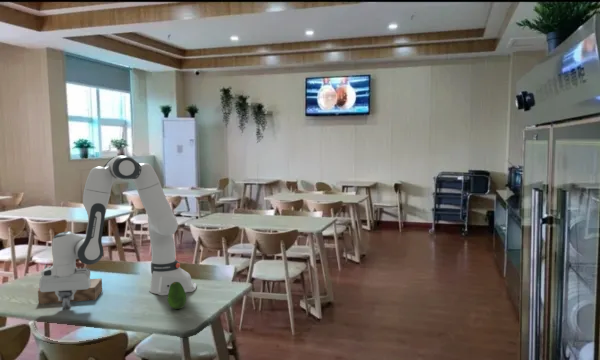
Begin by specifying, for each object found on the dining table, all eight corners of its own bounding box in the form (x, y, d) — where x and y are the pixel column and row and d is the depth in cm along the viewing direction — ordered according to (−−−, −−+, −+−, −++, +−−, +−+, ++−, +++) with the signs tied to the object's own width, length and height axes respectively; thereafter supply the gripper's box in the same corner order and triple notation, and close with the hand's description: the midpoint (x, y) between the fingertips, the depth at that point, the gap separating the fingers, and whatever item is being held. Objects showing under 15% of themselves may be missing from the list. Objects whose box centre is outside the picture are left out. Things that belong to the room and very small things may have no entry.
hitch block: (102, 290, 225) (101, 278, 224) (95, 300, 211) (94, 287, 211) (49, 293, 220) (48, 281, 220) (38, 303, 207) (37, 290, 206)
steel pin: (74, 305, 204) (73, 288, 204) (71, 309, 200) (70, 292, 199) (62, 306, 203) (61, 289, 203) (58, 310, 199) (57, 292, 198)
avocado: (170, 305, 204) (169, 279, 203) (187, 305, 204) (187, 279, 203) (166, 312, 196) (165, 285, 195) (184, 311, 196) (184, 284, 195)
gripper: (91, 265, 205) (93, 295, 206) (42, 268, 201) (43, 299, 202) (88, 269, 199) (89, 300, 200) (36, 272, 195) (38, 304, 196)
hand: (66, 299), depth 201 cm, fingers closed on steel pin, 3 cm apart
